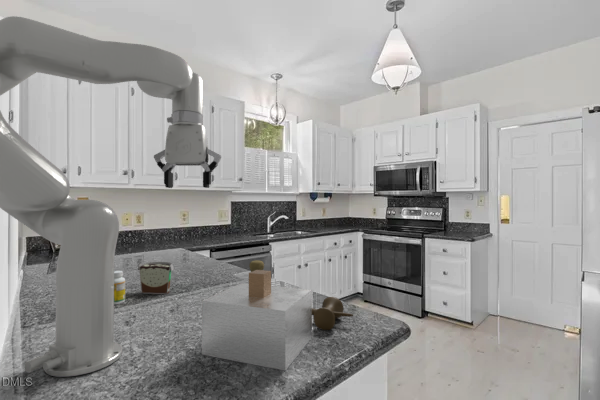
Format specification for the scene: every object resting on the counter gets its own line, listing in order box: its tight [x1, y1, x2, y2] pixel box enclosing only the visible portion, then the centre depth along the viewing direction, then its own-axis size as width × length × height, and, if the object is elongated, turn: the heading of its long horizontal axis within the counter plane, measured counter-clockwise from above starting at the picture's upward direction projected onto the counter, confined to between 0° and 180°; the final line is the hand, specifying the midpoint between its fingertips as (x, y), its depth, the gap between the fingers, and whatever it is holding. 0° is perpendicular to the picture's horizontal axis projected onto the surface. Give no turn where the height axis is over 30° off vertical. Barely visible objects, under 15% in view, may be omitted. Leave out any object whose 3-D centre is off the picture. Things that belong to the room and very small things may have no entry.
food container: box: [137, 261, 174, 295], centre depth 114 cm, size 12×6×10 cm, turn 84°
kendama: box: [312, 296, 354, 331], centre depth 84 cm, size 6×10×20 cm
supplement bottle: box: [114, 270, 126, 306], centre depth 101 cm, size 5×5×10 cm
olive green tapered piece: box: [249, 259, 265, 272], centre depth 113 cm, size 6×6×11 cm
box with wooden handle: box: [201, 269, 313, 372], centre depth 70 cm, size 16×19×16 cm
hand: (187, 187), depth 83 cm, fingers open, 9 cm apart
